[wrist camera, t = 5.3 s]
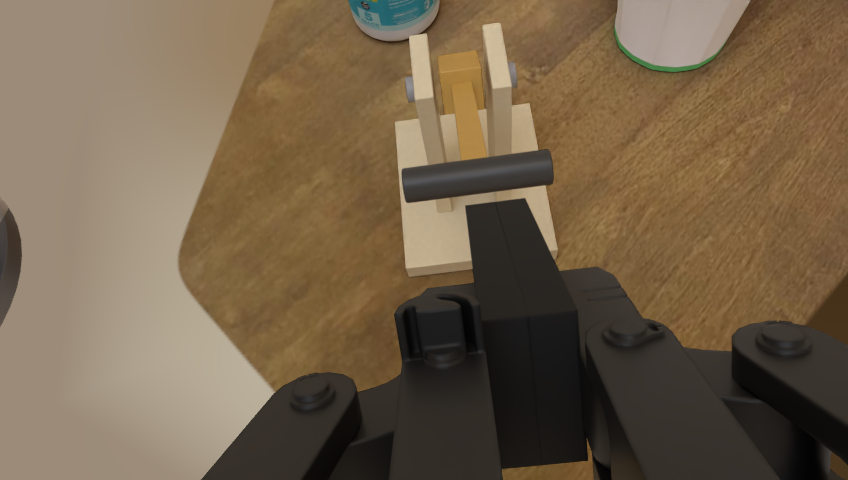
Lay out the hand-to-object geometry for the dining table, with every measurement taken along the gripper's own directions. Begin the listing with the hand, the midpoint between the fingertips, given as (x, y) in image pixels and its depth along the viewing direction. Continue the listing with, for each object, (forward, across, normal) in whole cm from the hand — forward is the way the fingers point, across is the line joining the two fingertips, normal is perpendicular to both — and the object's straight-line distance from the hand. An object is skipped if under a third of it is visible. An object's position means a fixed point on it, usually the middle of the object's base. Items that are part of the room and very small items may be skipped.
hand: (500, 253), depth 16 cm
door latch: (+30, 0, -6) cm, 30 cm away
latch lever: (+16, 0, 0) cm, 16 cm away
